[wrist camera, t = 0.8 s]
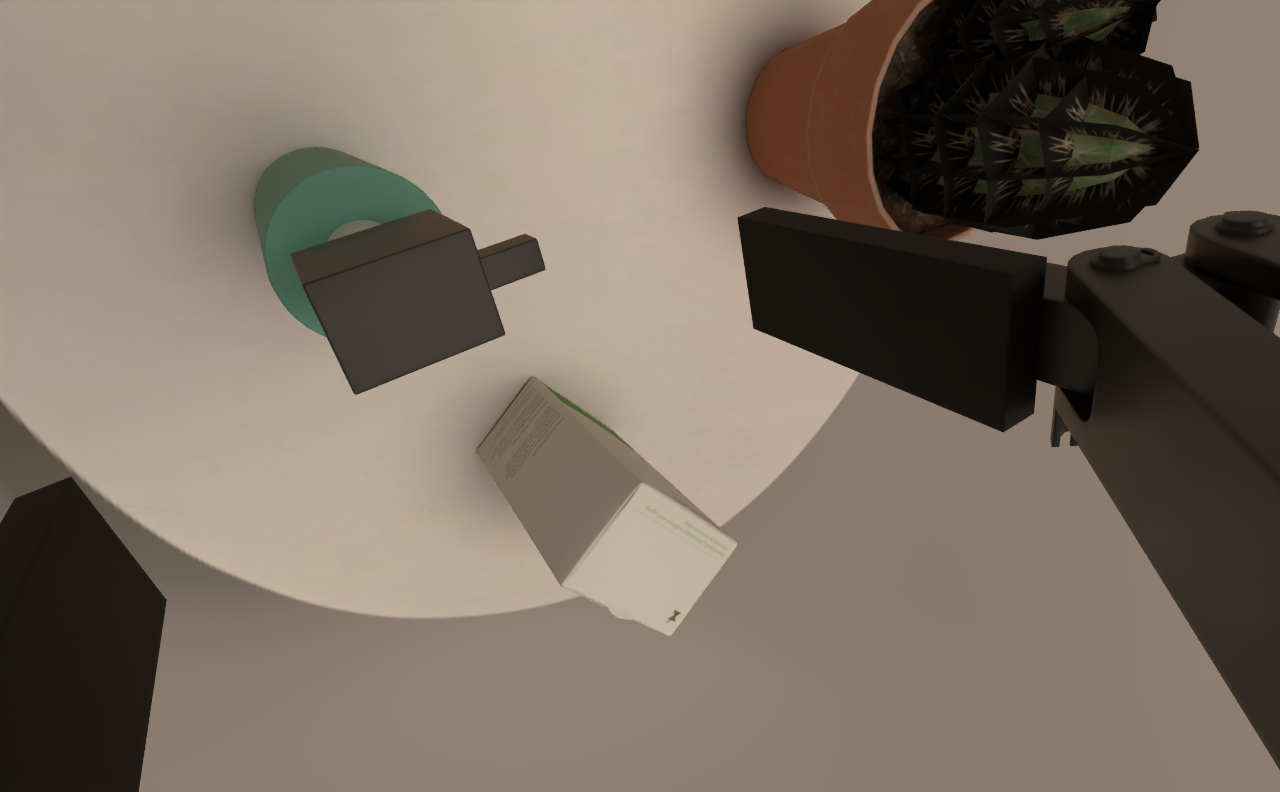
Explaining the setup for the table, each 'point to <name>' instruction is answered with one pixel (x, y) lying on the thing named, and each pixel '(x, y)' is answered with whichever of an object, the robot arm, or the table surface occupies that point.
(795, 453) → the table surface
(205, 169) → the table surface
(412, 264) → the spray bottle
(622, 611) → the cosmetic box
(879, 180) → the potted plant
